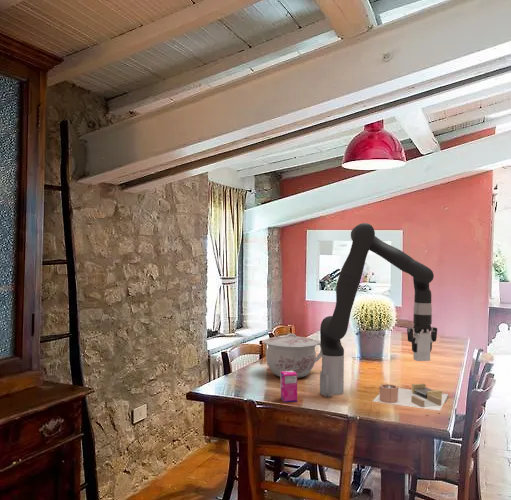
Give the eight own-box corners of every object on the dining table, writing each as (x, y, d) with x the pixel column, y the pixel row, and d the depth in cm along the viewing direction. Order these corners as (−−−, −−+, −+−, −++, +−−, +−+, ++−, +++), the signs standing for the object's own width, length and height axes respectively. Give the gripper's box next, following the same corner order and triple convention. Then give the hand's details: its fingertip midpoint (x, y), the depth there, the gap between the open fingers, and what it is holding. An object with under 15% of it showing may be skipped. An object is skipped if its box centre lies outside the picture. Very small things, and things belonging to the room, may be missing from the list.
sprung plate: (425, 395, 216) (425, 393, 216) (414, 390, 224) (414, 388, 224) (438, 394, 218) (438, 392, 218) (426, 389, 226) (426, 387, 226)
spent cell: (387, 400, 212) (387, 386, 212) (383, 398, 215) (384, 384, 215) (393, 399, 213) (393, 386, 213) (390, 398, 215) (390, 384, 215)
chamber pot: (254, 378, 251) (254, 335, 251) (273, 367, 277) (274, 327, 277) (311, 385, 241) (311, 339, 241) (325, 372, 267) (326, 331, 267)
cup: (385, 403, 209) (385, 389, 209) (376, 398, 216) (377, 384, 216) (400, 401, 211) (401, 388, 211) (391, 397, 218) (391, 383, 218)
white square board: (372, 404, 212) (372, 392, 212) (386, 389, 235) (386, 378, 235) (440, 413, 200) (440, 401, 200) (448, 397, 224) (448, 386, 224)
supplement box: (279, 398, 218) (280, 371, 218) (293, 397, 220) (293, 370, 220) (283, 402, 213) (284, 374, 213) (297, 401, 214) (298, 373, 214)
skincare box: (425, 359, 230) (426, 331, 230) (430, 361, 226) (431, 333, 226) (412, 359, 229) (413, 331, 229) (417, 361, 225) (417, 333, 225)
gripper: (413, 314, 222) (412, 354, 222) (442, 313, 226) (441, 352, 226) (403, 312, 229) (402, 350, 229) (431, 311, 233) (430, 349, 233)
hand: (421, 351), depth 228 cm, fingers closed on skincare box, 6 cm apart
